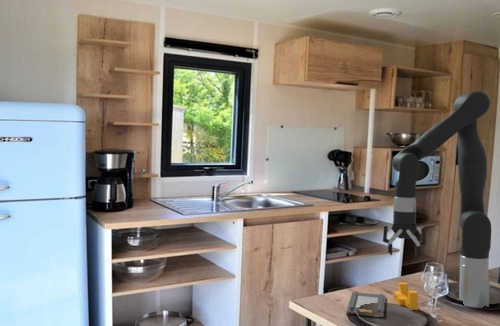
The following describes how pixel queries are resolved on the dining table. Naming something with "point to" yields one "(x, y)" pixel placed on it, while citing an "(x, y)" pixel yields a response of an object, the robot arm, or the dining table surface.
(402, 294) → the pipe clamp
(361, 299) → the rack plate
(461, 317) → the dining table surface
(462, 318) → the dining table surface
